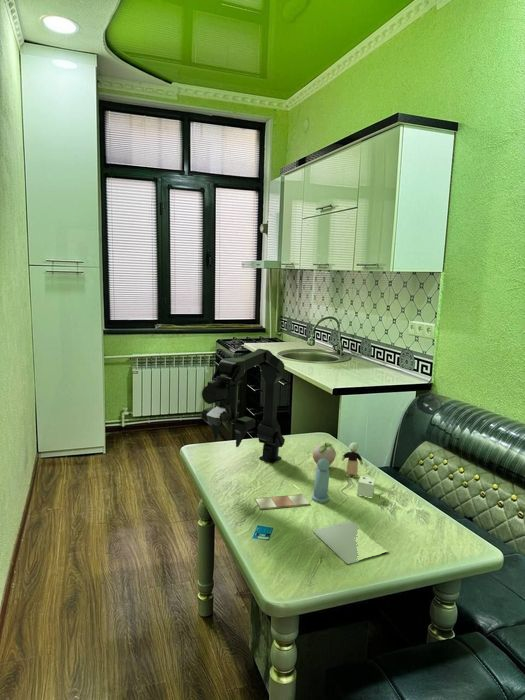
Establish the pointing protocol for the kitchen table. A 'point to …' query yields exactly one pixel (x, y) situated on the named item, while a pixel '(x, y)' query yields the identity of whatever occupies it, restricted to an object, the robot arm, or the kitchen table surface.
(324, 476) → the pawn
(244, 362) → the robot arm
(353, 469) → the grandmother figurine
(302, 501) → the board
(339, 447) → the kitchen table surface
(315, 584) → the kitchen table surface
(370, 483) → the die
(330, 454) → the decorative fruit
